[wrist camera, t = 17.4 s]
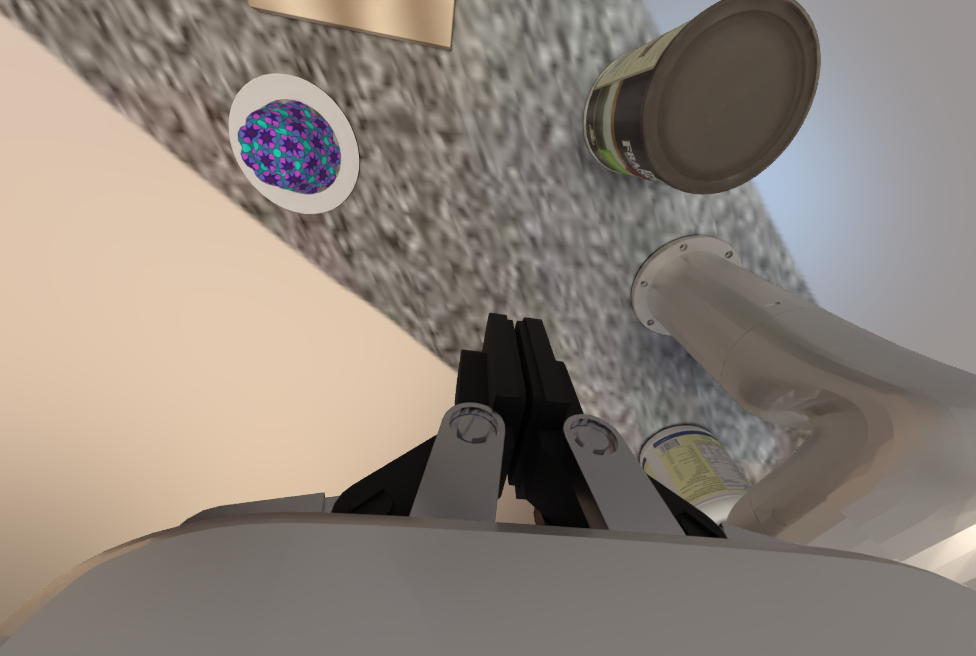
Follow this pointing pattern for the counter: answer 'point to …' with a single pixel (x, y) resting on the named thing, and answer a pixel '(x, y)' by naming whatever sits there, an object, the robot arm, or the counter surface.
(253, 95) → the pudding
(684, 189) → the coffee can
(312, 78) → the counter surface
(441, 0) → the post stand
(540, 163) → the counter surface
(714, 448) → the supplement tub
